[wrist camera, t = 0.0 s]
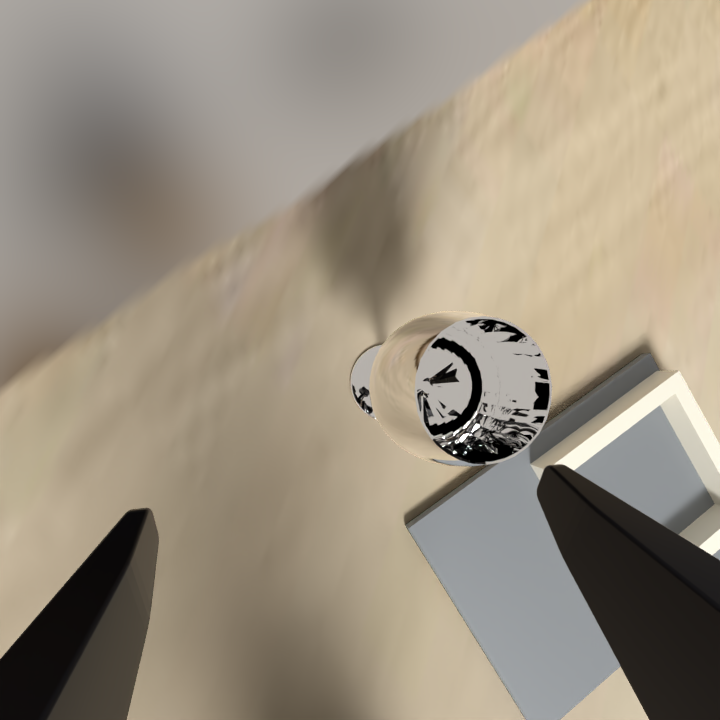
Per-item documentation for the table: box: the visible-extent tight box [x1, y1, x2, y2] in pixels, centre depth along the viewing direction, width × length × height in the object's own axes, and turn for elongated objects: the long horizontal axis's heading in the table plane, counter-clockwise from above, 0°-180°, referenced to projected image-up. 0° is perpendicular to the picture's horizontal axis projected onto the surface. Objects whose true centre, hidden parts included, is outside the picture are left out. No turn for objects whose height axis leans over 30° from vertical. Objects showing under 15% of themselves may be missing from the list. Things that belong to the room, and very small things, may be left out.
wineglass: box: [350, 311, 552, 466], centre depth 20 cm, size 6×6×12 cm
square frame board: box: [405, 353, 720, 720], centre depth 27 cm, size 15×19×2 cm
